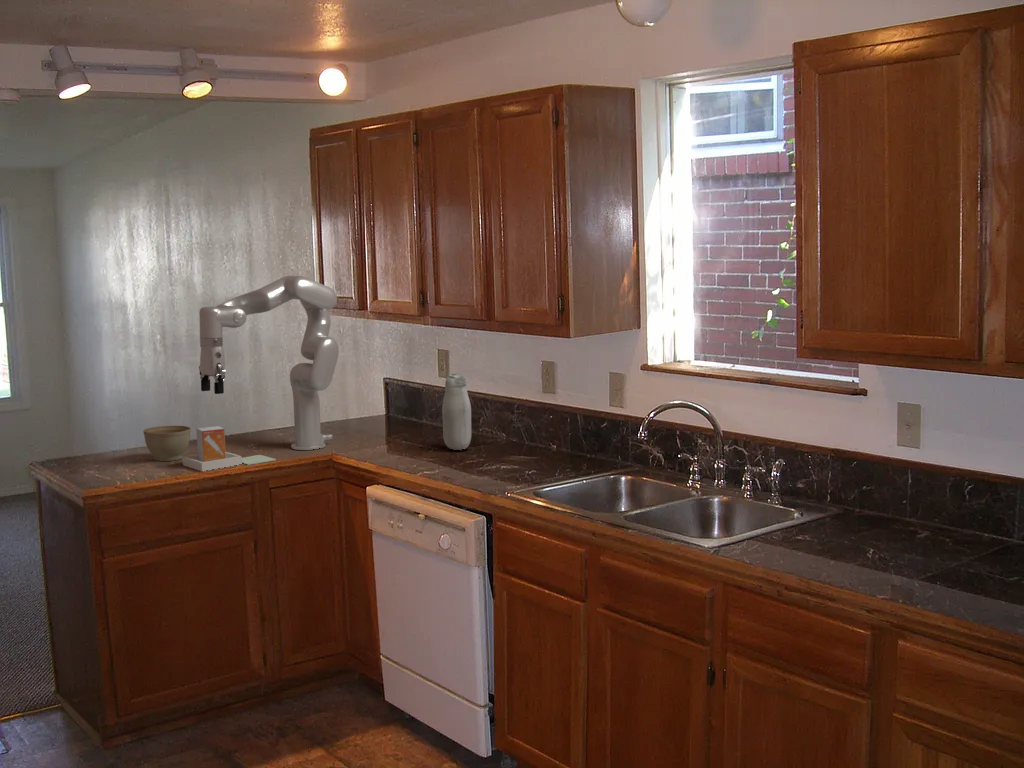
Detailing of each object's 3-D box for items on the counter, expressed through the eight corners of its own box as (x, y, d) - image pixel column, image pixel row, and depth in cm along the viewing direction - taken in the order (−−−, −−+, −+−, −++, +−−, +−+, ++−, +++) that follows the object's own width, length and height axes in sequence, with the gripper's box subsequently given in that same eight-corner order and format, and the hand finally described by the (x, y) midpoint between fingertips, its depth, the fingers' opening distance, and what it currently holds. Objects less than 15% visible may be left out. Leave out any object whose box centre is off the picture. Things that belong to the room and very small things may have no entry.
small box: (203, 468, 370) (201, 430, 368) (197, 465, 375) (195, 428, 373) (226, 465, 374) (224, 428, 372) (220, 461, 380) (218, 425, 378)
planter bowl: (177, 464, 376) (175, 433, 375) (136, 462, 380) (134, 432, 379) (201, 455, 392) (199, 425, 390) (161, 453, 396) (159, 424, 394)
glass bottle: (477, 449, 393) (475, 373, 389) (456, 454, 386) (454, 376, 382) (459, 446, 400) (457, 371, 396) (438, 450, 393) (436, 374, 389)
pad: (260, 455, 389) (260, 454, 389) (275, 460, 381) (275, 459, 381) (232, 460, 381) (232, 459, 381) (247, 465, 373) (247, 464, 373)
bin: (221, 458, 385) (221, 450, 384) (241, 464, 374) (241, 456, 374) (182, 465, 375) (182, 456, 375) (202, 471, 364) (201, 462, 364)
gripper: (233, 344, 367) (234, 393, 369) (209, 340, 379) (210, 389, 381) (213, 345, 362) (214, 395, 364) (189, 341, 374) (190, 390, 376)
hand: (212, 392), depth 372 cm, fingers open, 9 cm apart
